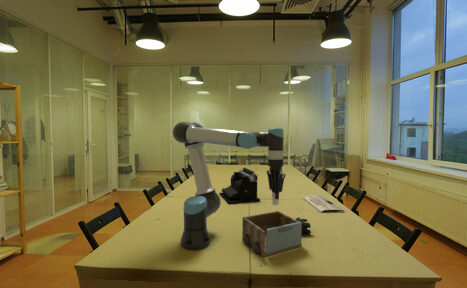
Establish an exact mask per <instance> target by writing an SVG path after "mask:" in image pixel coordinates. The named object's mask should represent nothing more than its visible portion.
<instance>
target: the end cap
mask: <svg viewBox="0 0 467 288" xmlns="http://www.w3.org/2000/svg"><path fill="white" fill-rule="evenodd" d="M294 219H295V220H297V221H299V222H301V223H302V232H301V236H311V228H312V227H311V223H310V222H308V219H306V218H300V217H296V218H294Z"/></svg>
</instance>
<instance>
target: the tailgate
mask: <svg viewBox="0 0 467 288" xmlns="http://www.w3.org/2000/svg"><path fill="white" fill-rule="evenodd" d="M300 244H301V245H302V234H301V222H296V223H292V224H287V225H283V226H278V227H274V228H269V229H266V252H267V253H271V252H274V251H278V250H282V249H285V248H289V247H292V246H296V245H300Z"/></svg>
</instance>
